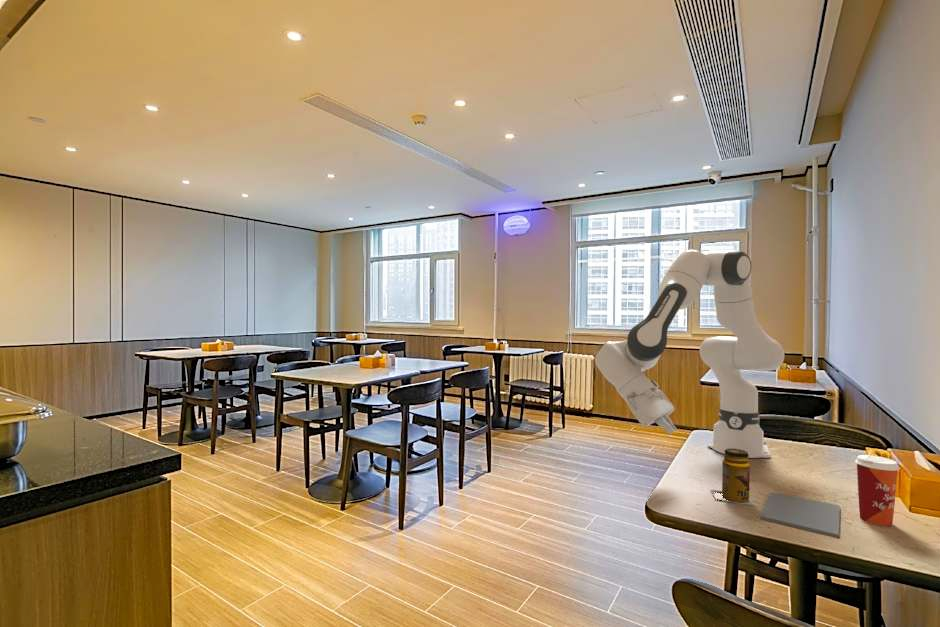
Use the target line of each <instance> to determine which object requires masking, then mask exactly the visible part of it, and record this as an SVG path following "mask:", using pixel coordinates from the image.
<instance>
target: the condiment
mask: <svg viewBox="0 0 940 627" xmlns="http://www.w3.org/2000/svg"><path fill="white" fill-rule="evenodd" d="M724 452H725V454H723V456H724V458H723V460H722V470H721V472H722V473H721V474H722V475H721V476H722V477H721V481H722V482H721V483H722V485H721V490H717V489H710V492H711V494H712V493H713V494H715V493H716V492H717V493H720V494H721V493H722V494H723V495H722V496H723V498H725V499H726V500H723V499H721V500H722V501H721V502H729V503H734V504H741V505H748V506H754V505H755V504H754V502H753V501H752V500H751V499H750V489H751V488H750V484H751V479H750V477H751V476H750V475H751V470H750V469H751V464H750V462H749V461H750V459H749V458H748V456H749V455H748V453H747V452H746V451H744V450H740V449H733V448H729V449H726V450H725V451H724ZM714 492H715V493H714ZM718 499H719V498H718ZM727 500H728V501H727ZM715 501H717V499H716V500H715Z"/></svg>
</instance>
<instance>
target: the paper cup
mask: <svg viewBox="0 0 940 627" xmlns="http://www.w3.org/2000/svg"><path fill="white" fill-rule="evenodd" d="M854 463H855V464H856V471H857V472H856V475H857V494H858V495H857V496H858V510H859V511H858V512H859V518H861V519H862V520H861V519H860V520H861V521H863V520H864V521H863V522H865V521H866V522H865V523H867V522H868V523H867V524H870V523H871V524H870V525H873V524H874V525H873V526H877V525H879V526H878V527H883V526H890V527H891V525H892V526H893V523H894V514H895V512H894V511H895V502H896V493H897V492H896V491H897V482H898V471H900V469H901V468H900V467H899V465H898V462H897V461H896V460H894V459H891V458H888V457H883V456H879V455H878V456H877V455H871V454H870V455H869V454H860V455H857V457H856V459H855V461H854Z"/></svg>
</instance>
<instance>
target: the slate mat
mask: <svg viewBox="0 0 940 627" xmlns="http://www.w3.org/2000/svg"><path fill="white" fill-rule="evenodd" d="M840 510H841V506H840V505H839V504H835V503H829V502H823V501H819V500H814V499H809V498H804V497H800V496H796V495H789V494H785V493H780V492H776V491H771V492H770V493H769V495H768V498H767V500H766V502H765V504H764V507H763V510H762V511H761V515H760V520H764V521H768V522H772V523H775V524H776V523H777V524H781V525H785V526H790V527H793V528H797V529H800V530H801V529H802V530H806V531H810V532H815V533H818V534H822V535H827V536H830V537H835V538H839V537H840Z"/></svg>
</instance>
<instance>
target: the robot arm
mask: <svg viewBox="0 0 940 627" xmlns="http://www.w3.org/2000/svg"><path fill="white" fill-rule="evenodd" d="M752 268H753V267H752V261H751V259H750V257H749V255H748V254H747V253H746V252H745V251H741V250H737V249H731V250H724V249H723V250H722V249H713V250H709V251H707V250H706V251H700V250H697V249H687V250H685V251H683V252H682V253H681V254H680V255H679V256H677V258H676V259H675V260H674V261H673V262H672V264H671V265H670V267H669V268H668V270H666V272H665V274H664V276H663V278H662V280H661V282H660V284H659V287H658V290H657V300H656V301H655V303H654V305H653V306H652V308H651V309H650V311H649V313H648V315H647V316H646V317H645V318H644V319H643V320H641V321H640V322H638V323H637V324H635V325H634V326H633V327H632V328H631V329H630V330H629V332H628V334H627V337H626V339H625V340H620V341H610V340H609V341H607V342H605V343H603V345H601V346H600V348H599V349H597V352H596V353H595V356H594V363H595V365H596V367H597V369H598V370H599V372H600V373H601V374H602V375H603V377H604V378H605V379H606V381H608V382H609V384H612V385H613V386H614V388H615V391H616V392H617V393H618V394H619V396H621V398H622V399H623V401H624V402H626V404H627V406H628V408H629V410H630V411H631V413H632V415H633V416H634V417H635V418H636V419H637V421H638V423H640V424H641V425H642V426H643V427H649V426H651V425H652V424H657V425H658V426H659V427H660V428H661V429H662V430H664V431H665V432H666V433H667V435H671V434H673V433H675V431H677V427H676V426H675V425H674V424H673V421H672V419H671V418H670V415H671V414H672V413H673V412H674V411H675V409H676V408H675V407H674V405H673V403H672V401H670V399H669V398H668V397H667V395H665V393H664V392H663V391H662V390H661V389H659V387H660V386H659V384H658V382H656V381H655V380H651V379H649V378H648V377H646V375H645V374H644V372H646V371H648V370H650V369H652V368H653V367H655V366H656V365H657V363H658V361H659V360H660V359H661V358H660V357H661V355H662V354H663V352H664V351H665V349H666V347H667V344H668V329H669V327H670V325H671V323H673V320H674V318H675V317H676V315H677V313H678V312H679V310H685V309H687V308H689V307H690V306H691V305H692V303H693V302H694V301H695V300H696V299H697V297H698V295H700V292H701V291H702V288H703V287H704V286H709V287H710V286H711V287H712V286H713V297H714V304H715V312H716V319H717V322H718V324H719V325H720V326H721V327H723V328H725V329H727V330H728V331H730V332H731V333H732V334H734V336H727V335H726V336H725V335H720V336H711V337H706V338H705V339H704V340H703V341H702V342H701V344H700V347H699V356H700V358H701V360H702V362H703V363H704V364H705V365H707V367H709V369H711V371H712V372H713V374H714V375H715V377H716V380H717V382H718V384H719V392H720V393H719V394H720V396H719V397H720V398H719V399H720V407H719V408H718V419H719V420H718V421H717V422H715V423H714V424H713V431H712V432H713V433H712V436H713V437H712V442H710V443H708V444H707V446H708V447H707V448H709V447H710V448H709V449H711V448H712V450H714V451H716V452H718V453H721V454H723V455H725V452H724V451H725V450H726V449H729V448H733V449H740V450H744V451H746V452H747V453H748V455H749V456H748V459H749V458H751V459H756V458H759V459H760V458H764V459H765V458H767V459H771V458H772V455H771V452H770V451H769V447H768V445H767V444H766V440H764V430H763V429H762V428H761V427H760V419H761V418H760V412H759V390H758V388H757V387H756V385H755V384H753V383H752V382H750V381H749V380H746V379H745V378H744V377H743V375H742V373H741V370H743V371H753V372H766V371H767V372H768V371H769V372H770V371H776V370H778V369H779V368H780V367H781V366H782V364H783V363H784V360H785V351H784V348H783V346H782V345H781V344H780V343H779V342H778V341H777V340H775V339H774V338H772V337H771V336H770V335H768V334H767V333H766V332H765V330H764V329H763V328H762V326H761V325H760V323H759V322H758V320H757V319H758V318H757V315H756V311H755V306H754V300H753V298H754V296H753V290H752V285H751V282H750V279H749V277H750V275H751V272H752Z"/></svg>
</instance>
